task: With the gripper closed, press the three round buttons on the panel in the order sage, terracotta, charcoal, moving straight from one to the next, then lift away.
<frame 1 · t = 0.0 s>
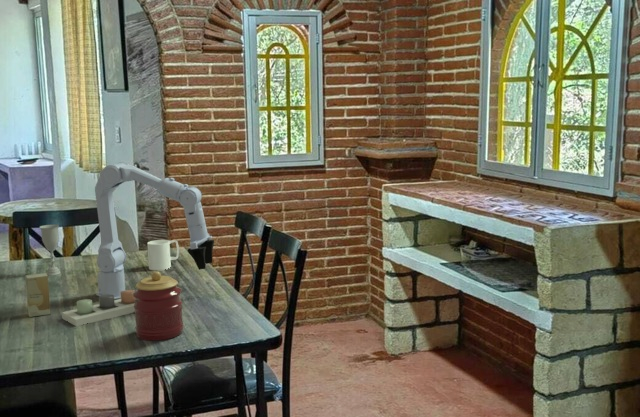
hand: (205, 266, 228), 11 cm above the table, tool pointing down, fingers open, 7 cm apart
sage button: (84, 306, 211), point 4 cm above the table, slide at 0.0 cm
canister: (160, 334, 197), on the table
terracotta button: (128, 296, 220), point 4 cm above the table, slide at 0.0 cm
panel: (107, 313, 216), on the table
charcoal button: (106, 301, 215), point 4 cm above the table, slide at 0.0 cm
skincare box: (39, 314, 217), on the table
cup: (164, 267, 272), on the table
chalice: (53, 273, 267), on the table
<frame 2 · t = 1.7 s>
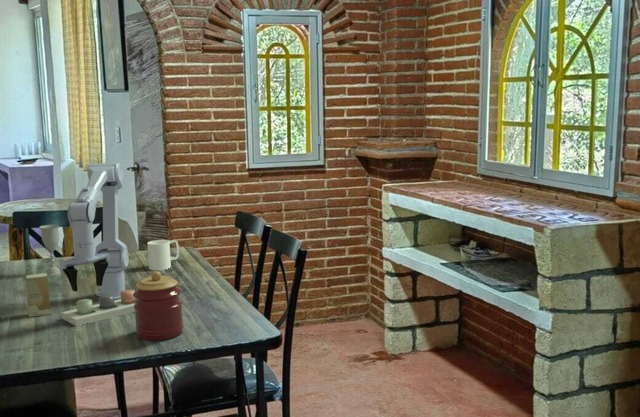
hand: (87, 288, 210), 9 cm above the table, tool pointing down, fingers open, 7 cm apart
nothing on the table moved.
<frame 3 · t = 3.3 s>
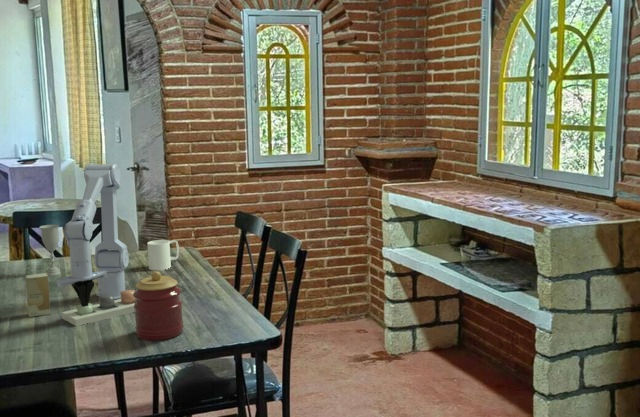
hand: (84, 305, 211), 4 cm above the table, tool pointing down, fingers closed, pressing on sage button
sage button: (85, 310, 211), point 2 cm above the table, slide at -1.2 cm, touching gripper
everything else where it was.
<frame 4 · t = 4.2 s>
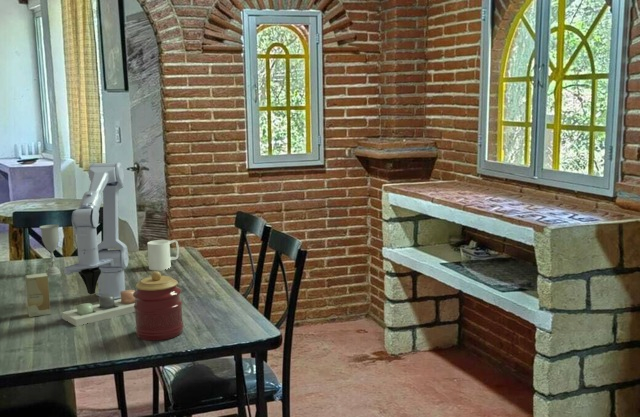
hand: (91, 293, 212), 7 cm above the table, tool pointing down, fingers closed
sage button: (85, 310, 211), point 2 cm above the table, slide at -1.2 cm
everything else where it was.
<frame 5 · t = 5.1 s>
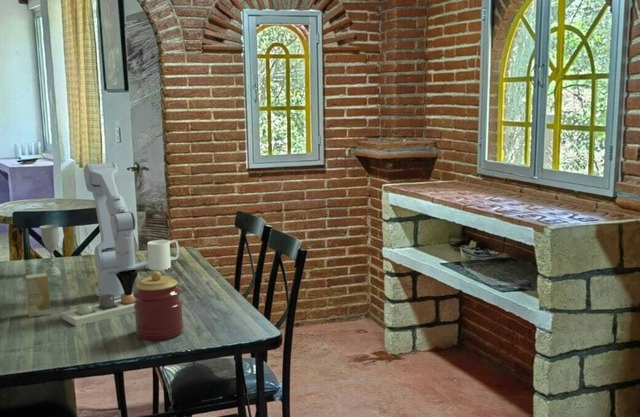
hand: (128, 294, 220), 4 cm above the table, tool pointing down, fingers closed, pressing on terracotta button
terracotta button: (128, 299, 220), point 3 cm above the table, slide at -0.8 cm, touching gripper
everything else where it was.
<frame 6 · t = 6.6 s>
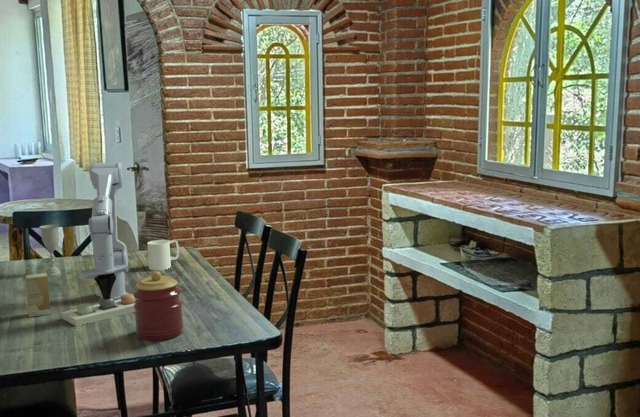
hand: (106, 298, 215), 5 cm above the table, tool pointing down, fingers closed, pressing on charcoal button
terracotta button: (128, 300, 220), point 2 cm above the table, slide at -1.2 cm
charcoal button: (107, 303, 215), point 3 cm above the table, slide at -0.6 cm, touching gripper
everything else where it was.
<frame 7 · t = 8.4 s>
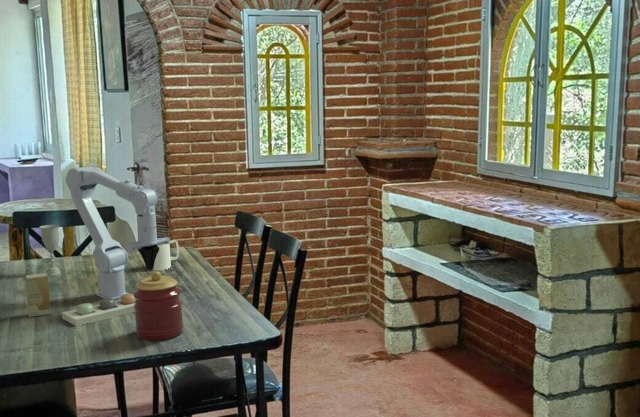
hand: (150, 269, 226), 10 cm above the table, tool pointing down, fingers closed
charcoal button: (107, 305, 216), point 2 cm above the table, slide at -1.2 cm
everything else where it was.
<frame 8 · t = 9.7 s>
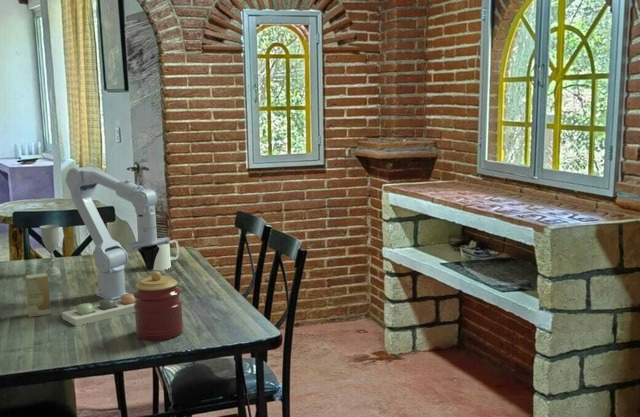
hand: (150, 269, 226), 10 cm above the table, tool pointing down, fingers closed
nothing on the table moved.
at the end: sage button slide at -1.2 cm; terracotta button slide at -1.2 cm; charcoal button slide at -1.2 cm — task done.
